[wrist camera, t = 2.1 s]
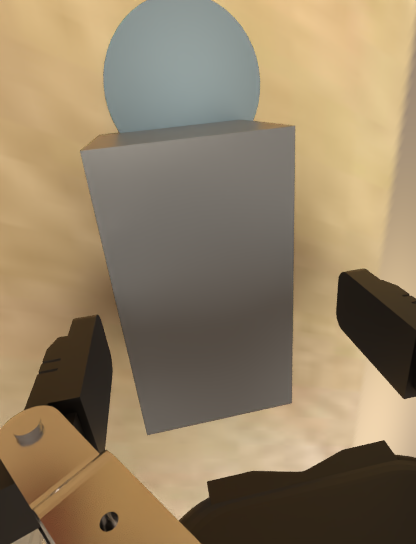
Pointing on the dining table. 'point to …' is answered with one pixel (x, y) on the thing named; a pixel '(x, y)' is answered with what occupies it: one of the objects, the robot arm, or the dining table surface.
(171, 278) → the gray rectangular prism
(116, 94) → the spot
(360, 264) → the dining table surface
